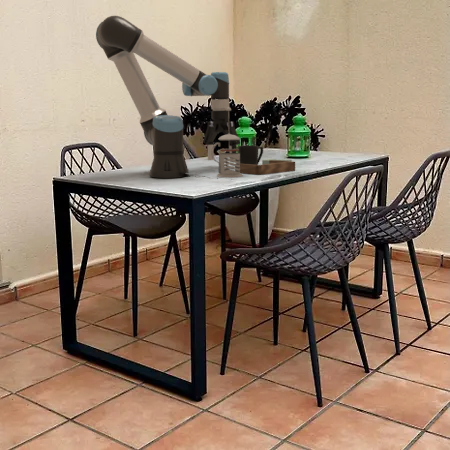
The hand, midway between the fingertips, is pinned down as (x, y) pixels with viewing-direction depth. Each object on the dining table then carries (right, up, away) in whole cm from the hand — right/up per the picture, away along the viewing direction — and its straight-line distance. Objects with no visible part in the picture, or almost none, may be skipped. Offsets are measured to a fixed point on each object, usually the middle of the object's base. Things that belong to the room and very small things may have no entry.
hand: (221, 160), depth 271 cm
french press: (+2, -9, -34) cm, 35 cm away
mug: (+12, -5, -10) cm, 17 cm away
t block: (+24, -3, -1) cm, 24 cm away
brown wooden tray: (+17, -6, -21) cm, 28 cm away
